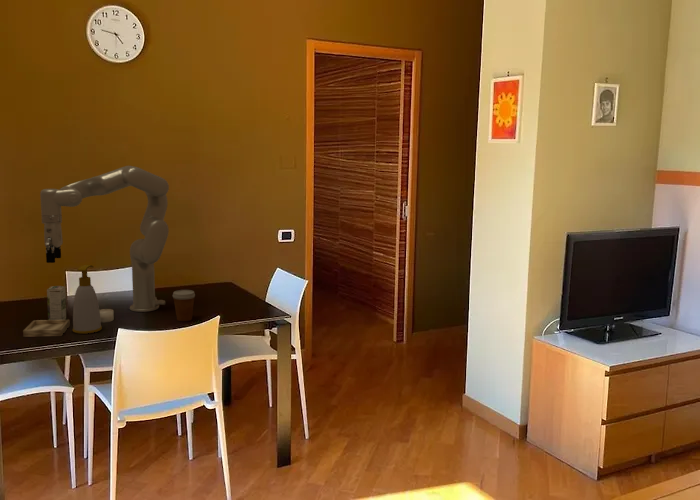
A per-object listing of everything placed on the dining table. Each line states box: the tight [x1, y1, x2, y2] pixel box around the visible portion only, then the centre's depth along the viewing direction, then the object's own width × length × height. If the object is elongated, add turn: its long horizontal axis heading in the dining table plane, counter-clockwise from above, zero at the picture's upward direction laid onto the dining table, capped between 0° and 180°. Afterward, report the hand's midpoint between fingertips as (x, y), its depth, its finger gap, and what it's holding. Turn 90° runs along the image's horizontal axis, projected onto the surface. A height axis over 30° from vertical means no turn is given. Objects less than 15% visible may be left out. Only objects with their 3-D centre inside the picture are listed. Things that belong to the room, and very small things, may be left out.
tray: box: [22, 319, 71, 338], centre depth 271 cm, size 14×14×2 cm
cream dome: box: [99, 308, 115, 323], centre depth 288 cm, size 7×7×4 cm
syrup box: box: [46, 285, 67, 320], centre depth 284 cm, size 6×6×14 cm
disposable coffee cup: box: [172, 289, 196, 322], centre depth 291 cm, size 10×10×12 cm
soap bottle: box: [72, 264, 103, 335], centre depth 271 cm, size 11×12×26 cm
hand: (53, 260), depth 280 cm, fingers open, 9 cm apart
